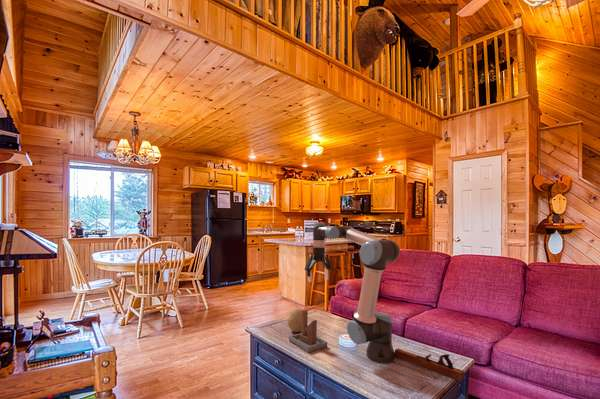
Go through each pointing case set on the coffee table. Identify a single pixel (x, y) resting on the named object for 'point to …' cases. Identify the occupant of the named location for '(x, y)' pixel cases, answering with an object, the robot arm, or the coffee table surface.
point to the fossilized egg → (295, 320)
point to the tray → (306, 347)
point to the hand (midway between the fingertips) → (318, 280)
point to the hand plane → (431, 364)
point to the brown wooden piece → (308, 329)
